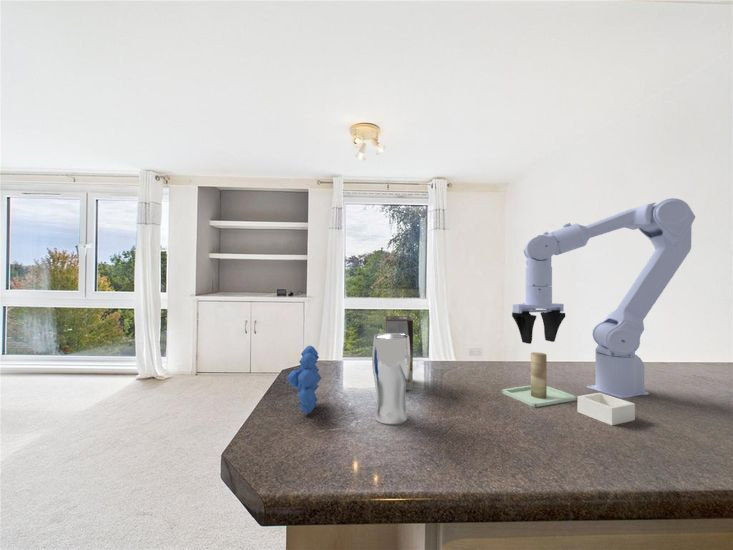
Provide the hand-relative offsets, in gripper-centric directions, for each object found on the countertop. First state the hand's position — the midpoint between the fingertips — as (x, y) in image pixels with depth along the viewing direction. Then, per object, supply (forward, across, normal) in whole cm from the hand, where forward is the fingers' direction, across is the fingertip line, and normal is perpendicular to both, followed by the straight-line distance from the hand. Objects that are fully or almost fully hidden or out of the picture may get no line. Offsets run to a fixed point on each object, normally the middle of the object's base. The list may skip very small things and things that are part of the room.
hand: (538, 342), depth 80 cm
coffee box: (+11, +32, -12) cm, 36 cm away
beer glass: (+11, +42, +5) cm, 44 cm away
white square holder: (+10, +5, +19) cm, 22 cm away
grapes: (+11, +56, -4) cm, 57 cm away
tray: (+10, +8, +7) cm, 15 cm away
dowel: (+10, +8, +7) cm, 15 cm away
